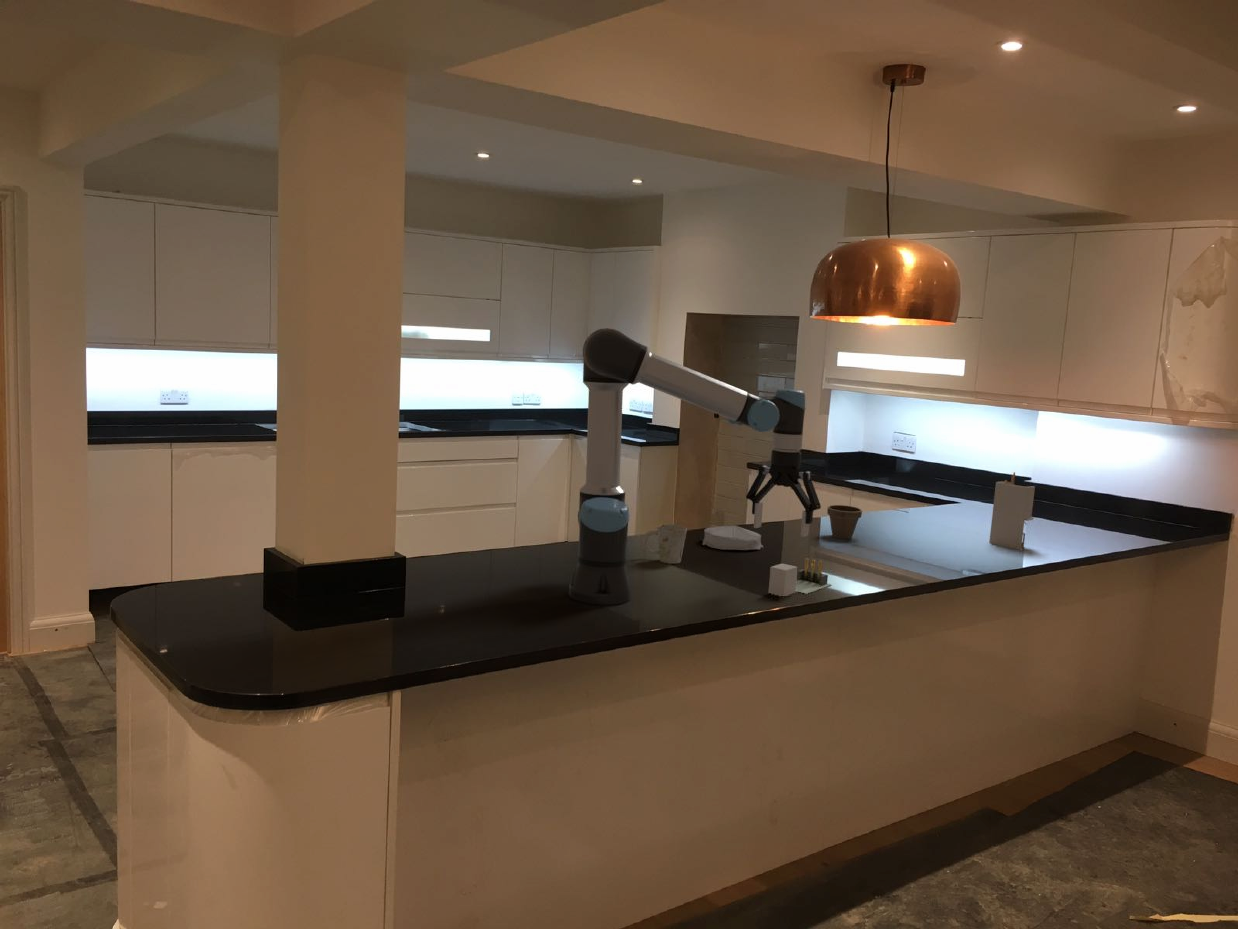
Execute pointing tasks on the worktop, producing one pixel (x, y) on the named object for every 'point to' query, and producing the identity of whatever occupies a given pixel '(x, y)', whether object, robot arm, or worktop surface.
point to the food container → (732, 538)
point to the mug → (668, 542)
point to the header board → (810, 586)
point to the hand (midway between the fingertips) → (780, 531)
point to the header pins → (812, 571)
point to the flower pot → (843, 520)
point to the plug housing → (782, 579)
